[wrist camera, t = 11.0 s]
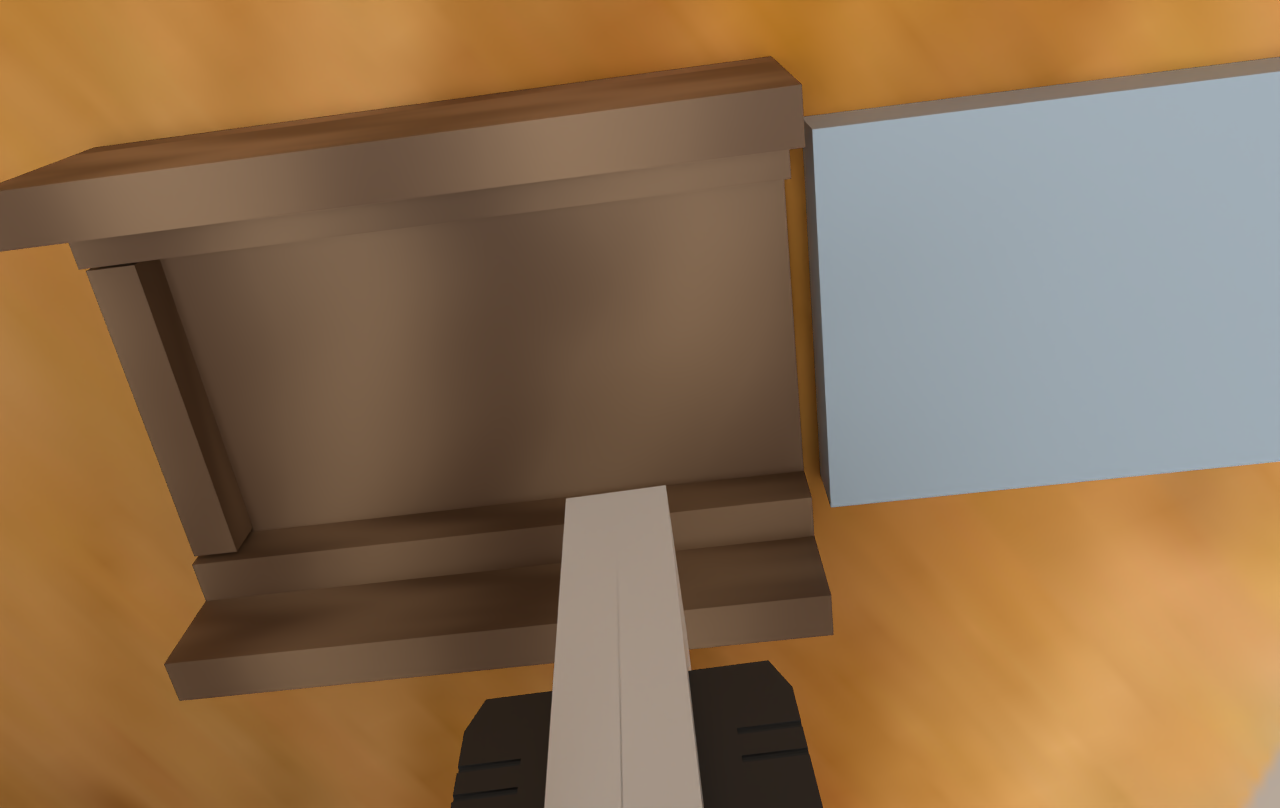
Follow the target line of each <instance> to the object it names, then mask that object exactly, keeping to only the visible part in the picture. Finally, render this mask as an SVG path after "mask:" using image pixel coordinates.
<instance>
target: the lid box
mask: <svg viewBox="0 0 1280 808" xmlns="http://www.w3.org/2000/svg"><path fill="white" fill-rule="evenodd" d="M804 147H805V134H804V116H803V99H802V84H801V83H800V82H799V81H797V80H796V79H795V78H794V77H793V76H792V75H791V74H790V73H789V72H788V71H787V70H785V69H784V68H783V67H782V66H781V65H780V64H779V63H778V62H777V61H776V60H775V59H773V58H772V57H771V56H770V57H763V58H755V59H748V60H741V61H733V62H726V63H718V64H711V65H703V66H696V67H689V68H681V69H674V70H666V71H659V72H652V73H644V74H637V75H629V76H622V77H615V78H607V79H600V80H592V81H585V82H577V83H570V84H563V85H555V86H548V87H540V88H533V89H526V90H518V91H511V92H503V93H496V94H489V95H481V96H474V97H466V98H459V99H451V100H444V101H437V102H429V103H422V104H414V105H407V106H400V107H392V108H385V109H377V110H370V111H363V112H355V113H348V114H340V115H333V116H326V117H318V118H311V119H303V120H296V121H288V122H281V123H274V124H266V125H259V126H251V127H244V128H237V129H229V130H222V131H214V132H207V133H200V134H192V135H185V136H177V137H170V138H162V139H155V140H148V141H140V142H133V143H125V144H118V145H111V146H103V147H96V148H92V149H89V150H86V151H84V152H81V153H78V154H76V155H73V156H70V157H68V158H65V159H63V160H60V161H57V162H55V163H52V164H49V165H47V166H44V167H41V168H39V169H36V170H33V171H31V172H28V173H25V174H23V175H20V176H18V177H15V178H12V179H10V180H7V181H4V182H2V183H0V251H8V250H16V249H23V248H31V247H39V246H47V245H54V244H62V243H69V245H70V248H71V250H72V253H73V255H74V258H75V261H76V263H77V266H78V269H87V268H91V269H89V270H87V271H86V273H87V275H88V278H89V281H90V283H91V286H92V289H93V291H94V294H95V296H96V299H97V302H98V304H99V307H100V310H101V312H102V315H103V317H104V320H105V323H106V325H107V328H108V331H109V333H110V336H111V338H112V341H113V344H114V346H115V349H116V352H117V354H118V357H119V360H120V362H121V365H122V367H123V370H124V373H125V375H126V378H127V381H128V383H129V386H130V388H131V391H132V394H133V396H134V399H135V402H136V404H137V407H138V409H139V412H140V415H141V417H142V420H143V423H144V425H145V428H146V430H147V433H148V436H149V438H150V441H151V444H152V446H153V449H154V451H155V454H156V457H157V459H158V462H159V465H160V467H161V470H162V472H163V475H164V478H165V480H166V483H167V486H168V488H169V491H170V493H171V496H172V499H173V501H174V504H175V507H176V509H177V512H178V515H179V517H180V520H181V522H182V525H183V528H184V530H185V533H186V536H187V538H188V541H189V543H190V546H191V549H192V551H193V554H194V556H198V558H197V559H196V560H195V562H194V563H193V565H192V566H193V568H194V571H195V574H196V576H197V579H198V581H199V584H200V587H201V589H202V592H203V594H204V597H205V600H206V602H205V603H204V605H203V606H202V608H201V609H200V611H199V612H198V614H197V615H196V617H195V618H194V620H193V621H192V623H191V624H190V626H189V627H188V629H187V630H186V632H185V633H184V635H183V636H182V638H181V639H180V641H179V642H178V644H177V645H176V647H175V648H174V650H173V652H172V653H171V655H170V656H169V658H168V659H167V661H166V662H165V664H164V665H165V667H166V670H167V672H168V674H169V677H170V679H171V682H172V684H173V686H174V689H175V691H176V694H177V696H178V698H179V701H183V700H192V699H202V698H212V697H222V696H232V695H242V694H252V693H262V692H272V691H282V690H292V689H301V688H311V687H321V686H331V685H341V684H351V683H361V682H371V681H381V680H391V679H401V678H410V677H420V676H430V675H440V674H450V673H460V672H470V671H480V670H490V669H500V668H510V667H519V666H529V665H539V664H549V663H555V648H556V634H557V620H558V606H559V591H560V577H561V563H562V548H563V534H564V520H565V506H566V499H567V498H574V497H581V496H589V495H596V494H604V493H611V492H619V491H626V490H634V489H641V488H648V487H656V486H663V485H666V491H667V498H668V505H669V512H670V519H671V526H672V533H673V540H674V547H675V554H676V561H677V568H678V575H679V582H680V589H681V596H682V603H683V610H684V617H685V624H686V631H687V639H688V648H689V649H698V648H708V647H718V646H728V645H737V644H747V643H757V642H767V641H777V640H787V639H797V638H807V637H817V636H827V635H833V619H832V602H831V593H830V590H829V586H828V583H827V579H826V576H825V572H824V569H823V565H822V562H821V558H820V555H819V551H818V548H817V544H816V541H815V537H814V525H813V510H812V497H811V493H810V490H809V487H808V483H807V480H806V477H805V473H804V468H803V453H802V438H801V424H800V409H799V394H798V379H797V364H796V350H795V335H794V320H793V305H792V290H791V276H790V261H789V246H788V231H787V216H786V202H785V187H784V179H791V168H790V153H789V149H796V148H804Z"/></svg>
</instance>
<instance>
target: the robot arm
mask: <svg viewBox="0 0 1280 808" xmlns="http://www.w3.org/2000/svg"><path fill="white" fill-rule="evenodd" d="M458 769H459V773H457V775H456V781H455V787H454V792H453V799H454V800H453V802H452V803H451V808H823V806H822V802H821V798H820V794H819V790H818V786H817V782H816V778H815V774H814V770H813V767H812V763H811V759H810V755H809V753H808V747H807V743H806V739H805V735H804V731H803V727H802V725H801V719H800V715H799V711H798V707H797V704H796V700H795V696H794V692H793V688H792V686H791V685H790V684H789V683H788V682H787V681H786V679H785V678H784V677H783V676H782V675H781V674H780V673H779V672H778V671H777V670H776V668H775V667H774V666H773V665H772V664H771V663H770V662H769V661H760V662H753V663H745V664H737V665H729V666H722V667H714V668H706V669H698V670H691V664H690V656H689V648H688V639H687V631H686V624H685V617H684V610H683V603H682V596H681V589H680V582H679V575H678V568H677V561H676V554H675V547H674V540H673V533H672V526H671V519H670V512H669V505H668V498H667V491H666V485H663V486H656V487H648V488H641V489H634V490H626V491H619V492H611V493H604V494H596V495H589V496H581V497H574V498H567V499H566V506H565V520H564V534H563V548H562V563H561V577H560V591H559V606H558V620H557V634H556V648H555V663H554V677H553V691H549V692H541V693H533V694H526V695H518V696H510V697H502V698H495V699H487V700H486V701H485V702H484V704H483V705H482V706H481V708H480V709H479V711H478V712H477V714H476V715H475V717H474V718H473V720H472V721H471V723H470V724H469V726H468V727H467V729H466V730H465V731H464V736H463V742H462V747H461V753H460V759H459V764H458Z"/></svg>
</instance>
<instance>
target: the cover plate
mask: <svg viewBox="0 0 1280 808" xmlns="http://www.w3.org/2000/svg"><path fill="white" fill-rule="evenodd" d="M804 134H805V147H804V148H803V158H804V176H805V195H806V214H807V232H808V251H809V270H810V289H811V307H812V326H813V345H814V363H815V382H816V401H817V419H818V438H819V457H820V475H821V478H822V481H823V484H824V487H825V491H826V494H827V497H828V500H829V503H830V506H831V507H840V506H849V505H859V504H869V503H879V502H888V501H898V500H908V499H918V498H927V497H937V496H947V495H957V494H966V493H976V492H986V491H996V490H1005V489H1015V488H1025V487H1035V486H1044V485H1054V484H1064V483H1074V482H1083V481H1093V480H1103V479H1113V478H1122V477H1132V476H1142V475H1152V474H1161V473H1171V472H1181V471H1191V470H1200V469H1210V468H1220V467H1230V466H1239V465H1249V464H1259V463H1269V462H1278V461H1280V57H1274V58H1266V59H1258V60H1250V61H1243V62H1235V63H1227V64H1219V65H1211V66H1203V67H1195V68H1187V69H1179V70H1171V71H1163V72H1155V73H1147V74H1139V75H1131V76H1123V77H1115V78H1107V79H1099V80H1092V81H1084V82H1076V83H1068V84H1060V85H1052V86H1044V87H1036V88H1028V89H1020V90H1012V91H1004V92H996V93H988V94H980V95H972V96H964V97H956V98H948V99H941V100H933V101H925V102H917V103H909V104H901V105H893V106H885V107H877V108H869V109H861V110H853V111H845V112H837V113H829V114H821V115H813V116H805V117H804Z"/></svg>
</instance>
